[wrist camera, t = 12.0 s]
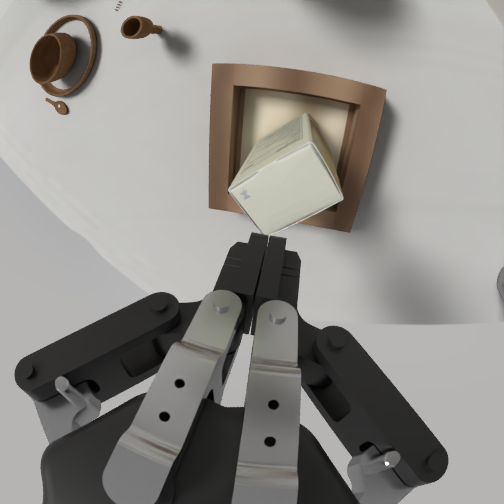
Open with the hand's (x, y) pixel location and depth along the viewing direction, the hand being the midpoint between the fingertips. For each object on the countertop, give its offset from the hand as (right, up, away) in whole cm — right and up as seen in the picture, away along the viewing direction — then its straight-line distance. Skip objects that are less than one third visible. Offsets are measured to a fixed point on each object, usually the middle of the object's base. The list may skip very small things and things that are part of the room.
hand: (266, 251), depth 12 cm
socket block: (+3, +12, +15) cm, 19 cm away
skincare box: (+4, +11, +14) cm, 18 cm away
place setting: (-21, +24, +12) cm, 34 cm away
